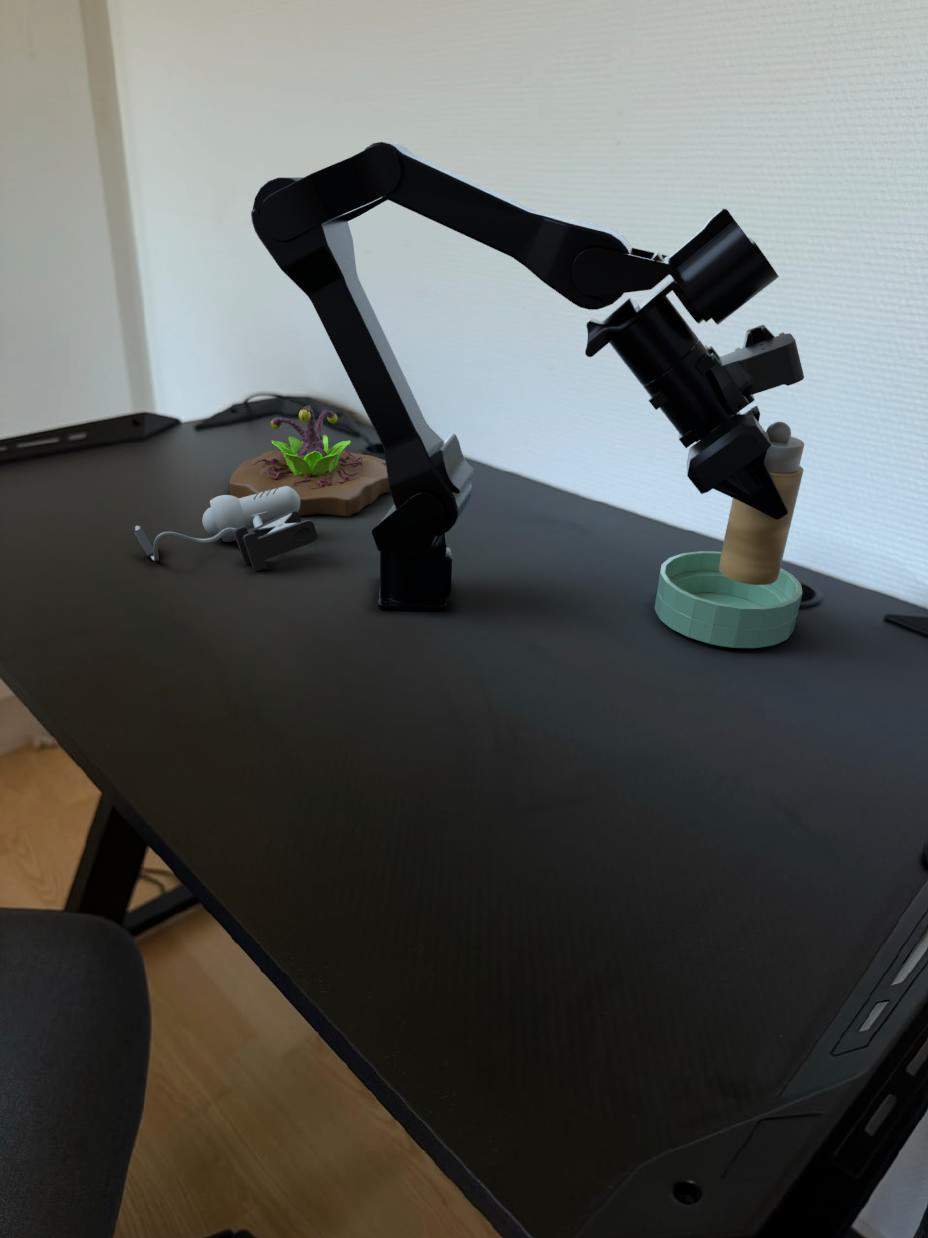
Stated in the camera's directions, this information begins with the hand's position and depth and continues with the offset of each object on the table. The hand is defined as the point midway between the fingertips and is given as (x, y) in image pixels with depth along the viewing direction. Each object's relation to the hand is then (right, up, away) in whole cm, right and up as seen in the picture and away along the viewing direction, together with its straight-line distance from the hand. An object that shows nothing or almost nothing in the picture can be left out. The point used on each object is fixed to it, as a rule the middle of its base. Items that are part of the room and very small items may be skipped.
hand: (779, 505), depth 77 cm
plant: (-47, +7, +38) cm, 61 cm away
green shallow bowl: (-2, -10, +10) cm, 14 cm away
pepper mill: (-2, -6, +3) cm, 7 cm away
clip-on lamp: (-53, -3, +19) cm, 56 cm away
